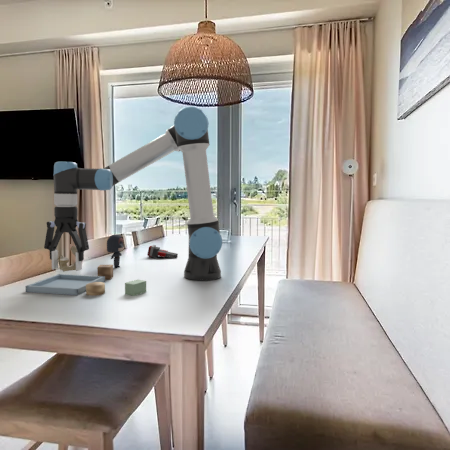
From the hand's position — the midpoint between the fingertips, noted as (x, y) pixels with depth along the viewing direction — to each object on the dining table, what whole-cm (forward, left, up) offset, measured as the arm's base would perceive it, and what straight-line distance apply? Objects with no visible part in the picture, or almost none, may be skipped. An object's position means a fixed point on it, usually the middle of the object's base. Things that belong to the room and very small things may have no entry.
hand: (66, 269), depth 132 cm
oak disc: (-14, +6, -6) cm, 17 cm away
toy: (-2, -35, -6) cm, 36 cm away
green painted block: (-27, +3, -6) cm, 28 cm away
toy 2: (-14, -65, -7) cm, 67 cm away
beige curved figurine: (0, 0, -1) cm, 1 cm away
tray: (0, 0, -6) cm, 6 cm away
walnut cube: (-7, -15, -6) cm, 18 cm away
